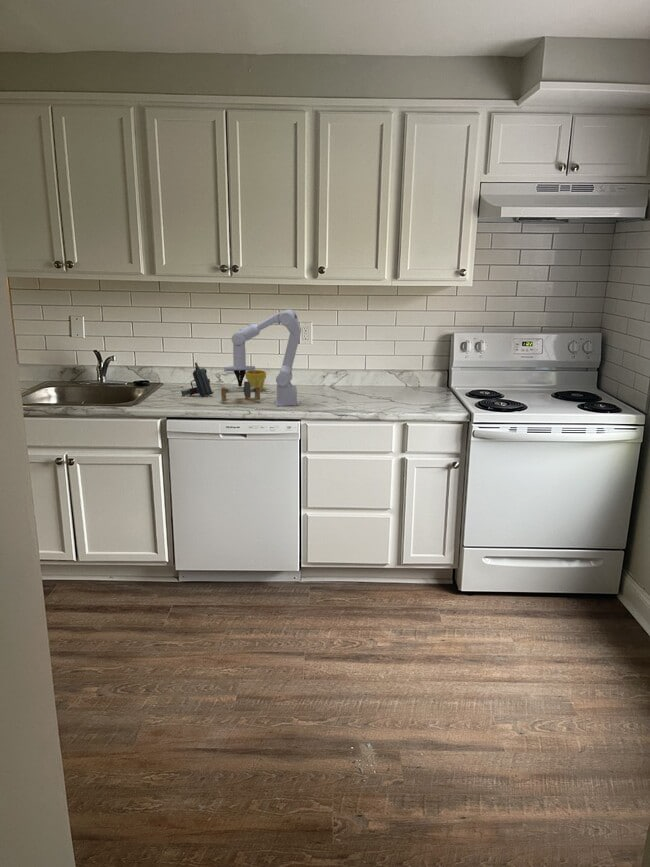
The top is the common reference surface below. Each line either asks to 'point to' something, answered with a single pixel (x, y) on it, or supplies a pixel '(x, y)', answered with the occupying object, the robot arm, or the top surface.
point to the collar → (247, 390)
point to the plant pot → (256, 378)
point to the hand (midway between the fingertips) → (240, 385)
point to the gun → (199, 383)
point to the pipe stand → (239, 400)
